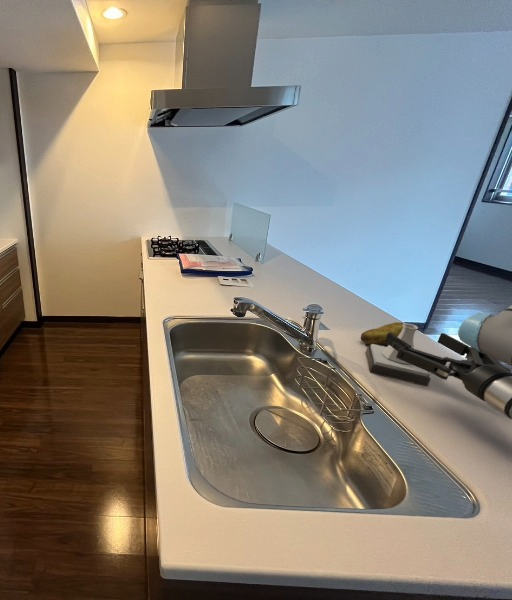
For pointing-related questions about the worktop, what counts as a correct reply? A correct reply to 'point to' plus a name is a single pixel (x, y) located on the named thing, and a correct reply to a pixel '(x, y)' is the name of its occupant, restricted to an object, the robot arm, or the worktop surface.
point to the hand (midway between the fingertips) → (413, 337)
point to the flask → (406, 336)
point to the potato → (381, 333)
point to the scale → (394, 367)
